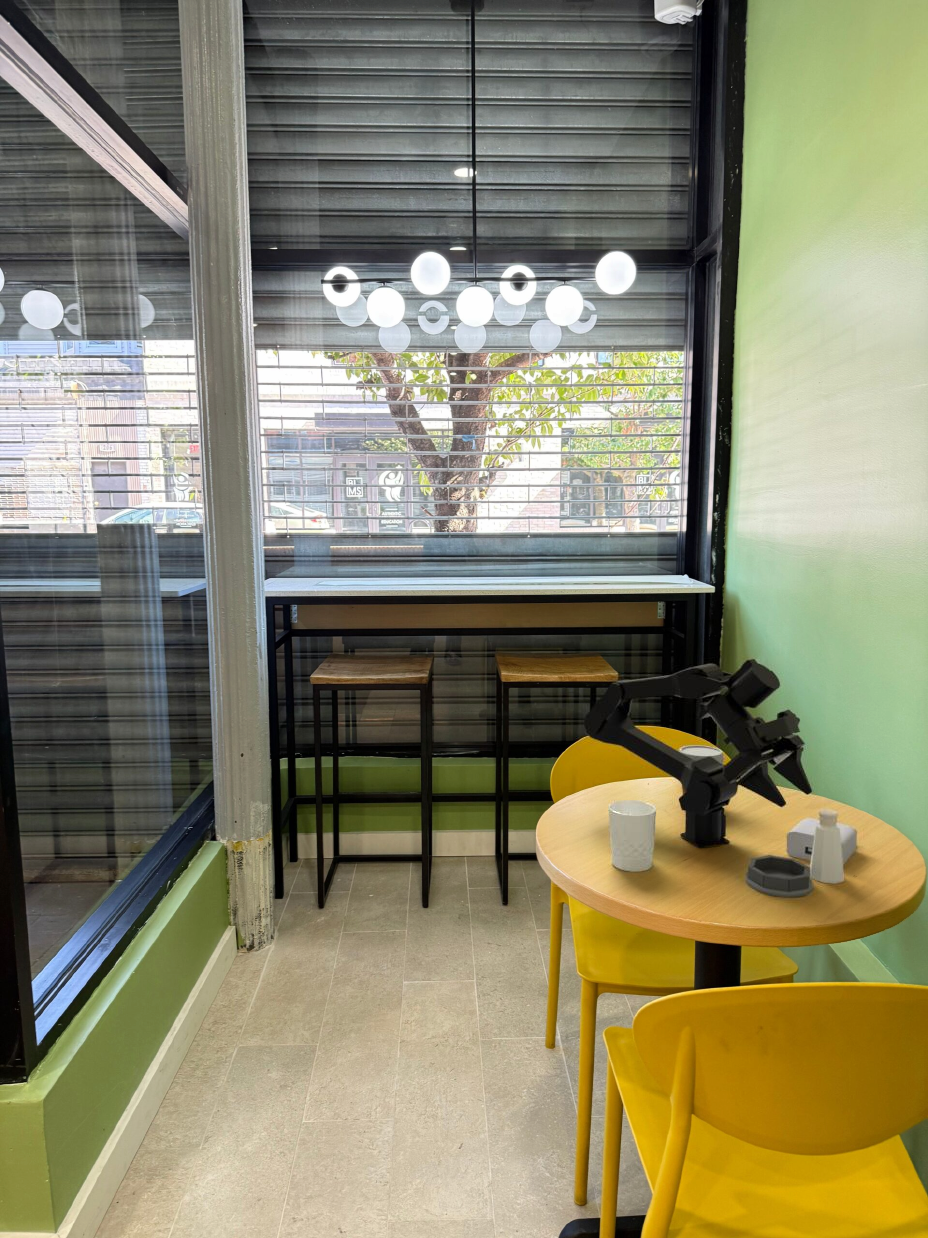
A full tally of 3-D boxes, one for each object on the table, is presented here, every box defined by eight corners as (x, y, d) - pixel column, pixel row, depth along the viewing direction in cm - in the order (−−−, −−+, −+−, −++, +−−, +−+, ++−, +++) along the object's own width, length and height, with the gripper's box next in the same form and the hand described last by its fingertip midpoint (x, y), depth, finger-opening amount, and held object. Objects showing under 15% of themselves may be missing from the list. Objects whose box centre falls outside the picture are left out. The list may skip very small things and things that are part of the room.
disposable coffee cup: (692, 797, 172) (692, 742, 171) (732, 807, 165) (733, 750, 164) (667, 807, 166) (667, 750, 165) (708, 818, 159) (709, 759, 158)
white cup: (626, 877, 132) (626, 818, 131) (599, 860, 139) (599, 804, 138) (665, 868, 135) (665, 811, 134) (637, 852, 142) (637, 797, 141)
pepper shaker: (849, 876, 131) (851, 811, 130) (838, 887, 127) (840, 819, 126) (814, 867, 134) (816, 804, 133) (803, 878, 130) (805, 812, 129)
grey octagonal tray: (774, 901, 122) (774, 884, 122) (732, 876, 131) (733, 859, 131) (826, 892, 125) (827, 874, 125) (783, 867, 135) (783, 851, 134)
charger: (865, 843, 146) (842, 869, 134) (811, 832, 151) (786, 856, 140) (865, 817, 145) (843, 842, 134) (812, 807, 151) (786, 830, 139)
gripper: (740, 704, 129) (806, 785, 122) (794, 689, 142) (857, 761, 135) (697, 743, 136) (756, 822, 129) (752, 725, 148) (809, 796, 141)
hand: (797, 799), depth 133 cm, fingers open, 9 cm apart
